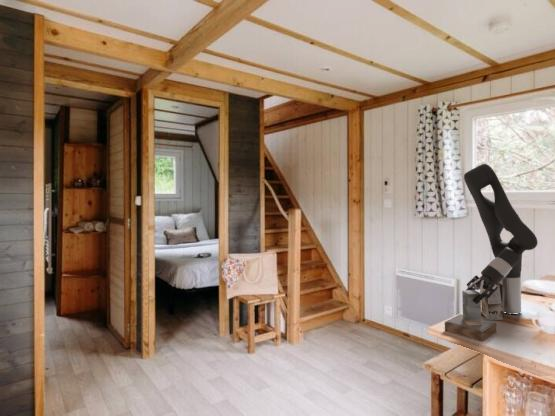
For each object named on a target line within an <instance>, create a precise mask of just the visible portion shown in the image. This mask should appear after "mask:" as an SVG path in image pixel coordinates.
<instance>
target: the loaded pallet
mask: <svg viewBox="0 0 555 416" xmlns="http://www.w3.org/2000/svg"><path fill="white" fill-rule="evenodd" d="M461 293H462V294H461V295H462V298H461V299H462V301H461V302H462V315H463V318H462V321H463V322H465V323H466V324H467V325H469V326H470V325H482V321H481V319H482V306H481V301H480V302H479V303H478V304H476V303H474V302H473V299H474V298H475V297H476V296H477V295H478V294H479V293H480V291H478V290H466V289H465V290H464V289H463V290H462V291H461Z"/></svg>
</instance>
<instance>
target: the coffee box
mask: <svg viewBox="0 0 555 416" xmlns="http://www.w3.org/2000/svg"><path fill="white" fill-rule="evenodd" d="M496 286H497V287H498V288H497V289H496V291H495V292H494V293H493V294H492V295H491V296H490V297H489V298H487V297H486V298H483V299H482V300H481V315H483V317H485V318H486V319H487V321H490V320H491V321H492V320H493V321H503V320H504V313H503V285H502V284H500V283H499V284H498V285H496ZM489 293H490V292H489ZM489 293H488V294H489Z"/></svg>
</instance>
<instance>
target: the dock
mask: <svg viewBox="0 0 555 416" xmlns="http://www.w3.org/2000/svg"><path fill="white" fill-rule="evenodd" d="M462 318H463V313H462V314H461V313H460V314H458V315H456V316H453V317H452V318H449V319H448V320H446V321H444V331H445V330H447V331H446V332H448V331H450V332H449V333H452V332H453V333H452V334H455V333H456V334H455V335H458V334H460V335H459V336H462V335H463V336H462V337H465V336H466V338H469V339H472V340H476V341H479V342H483V341H485V340H486V339H487V338H489V337H491V336H492V335H494V334H495V333H497V323H496V322H494V321H490V320H486V319H482V318H481V321H482V325H470V326H469V325H467V324H466V323H465V322H463V321H462Z"/></svg>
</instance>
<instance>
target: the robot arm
mask: <svg viewBox="0 0 555 416" xmlns="http://www.w3.org/2000/svg"><path fill="white" fill-rule="evenodd" d="M463 180H464V183H465V185H466V187H467V189H468V191H469V193H470V195H471V196H472V199H473V201H474V203H475V205H476V208H477V211H478V214H479V216H480V220H481V222H482V224H483V226H484V229H485V231H486V233H487V236H488V239H489V243H490V247H491V251H492V254H493V256H494V258H493V259H492V260H491V261H490V262H489V263H488V264H487V265H486V266H485V268H483V269H482V271H481V272H480V274H481V276H480V277H479V276H478V275H477V274H476V275H474V276H473V277H472V278H471V279H470V280H469V282H468V281H467V283H466V286H467V288H466V289H465V290H475V291H478V290H480V291H479V294H478V295H477V296H476V297H475V298H474V299H473V302H474V303H476V304H478V303H479V302H480V301H481V300H482V299H483V298H486V297H487V298H489V297H490V296H491V295H492V294H493V293H494V292H495V291H496V289H497V288H498V287H497V286H496V285H498V284H499V283H500V284H502V285H503V312H506V313H520V312H521V313H522V281H521V280H522V279H521V278H522V277H521V276H522V267H523V266H522V263H523V262H522V261H523V254H524V252H525V251H531V250H534V249H535V248H536V247H537V246H538V244H539V243H538V239H537V236H536V235H535V233H534V232H533V231H532V230H531V229H530V227H528V226H527V224H526V223H524V222H523V220H522V219H521V217H520V216H519V214H518V213H517V212H516V211H517V210H515V209H514V207H513V205H512V204H511V202H510V200H509V198H508V196H507V194H506V192H505V189H504V187H503V186H502V183H501V182H500V180H499V177H498V175H497V173H496V172H495V171H494V169H493V168H492V167H491V166H490V165H489V164H487V163H481V164H480V165H478V166H476V167H473V168H471V169H470V170H468V171H467V172H465V173H464V175H463ZM488 186H490V187H491V189H492V191H493V197H494V200H491V199H489V198H488V197H486V196H485V195H483V192H482V190H483V189H484V188H486V187H488ZM503 230H505V231H506V232H509V233H510V234H511V235H512V238H511V239H510V240H508V241H505V240H503V239H502V237H501V234H502V231H503ZM489 292H490V293H489ZM488 293H489V294H488Z"/></svg>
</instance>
